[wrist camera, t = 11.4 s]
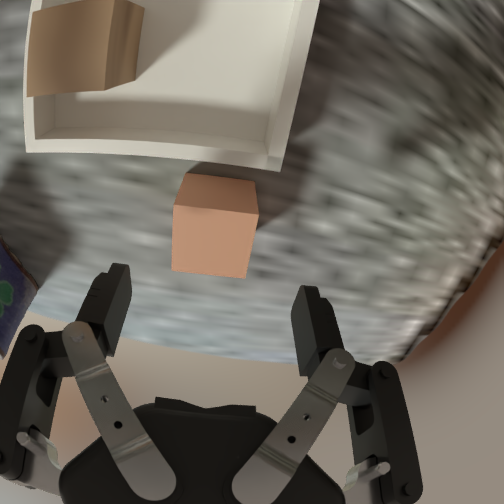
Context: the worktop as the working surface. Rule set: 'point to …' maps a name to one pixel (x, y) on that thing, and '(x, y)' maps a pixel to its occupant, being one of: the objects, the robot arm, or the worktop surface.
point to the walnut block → (83, 46)
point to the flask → (13, 295)
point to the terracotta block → (214, 225)
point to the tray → (189, 86)
